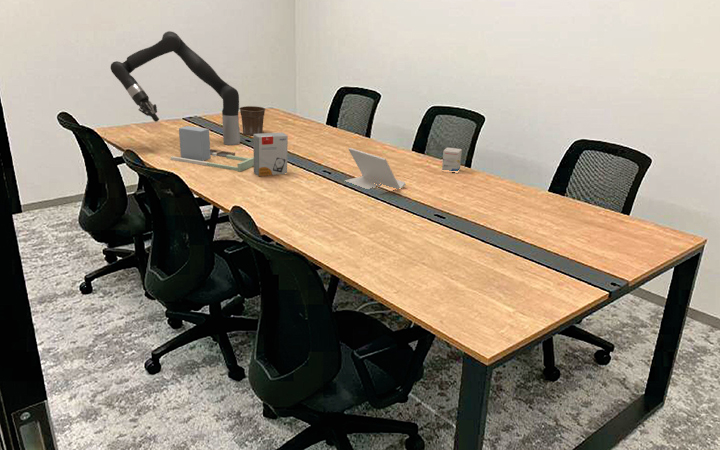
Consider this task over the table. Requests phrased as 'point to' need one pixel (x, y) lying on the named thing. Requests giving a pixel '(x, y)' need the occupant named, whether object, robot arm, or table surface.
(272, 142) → the hard drive box
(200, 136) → the block
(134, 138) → the table surface
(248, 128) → the plant pot
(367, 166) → the tablet stand
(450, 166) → the ink box
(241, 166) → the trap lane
